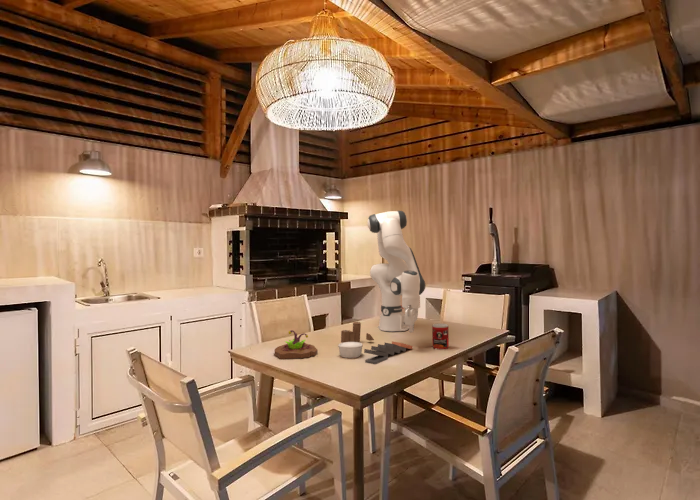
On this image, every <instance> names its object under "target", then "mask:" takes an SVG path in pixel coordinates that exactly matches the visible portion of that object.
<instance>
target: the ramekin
mask: <svg viewBox="0 0 700 500" xmlns="http://www.w3.org/2000/svg"><path fill="white" fill-rule="evenodd" d="M337 348H338V350H339V351H338V352H339V356H340V357H341V358H346V359H355V358H360V356H361V355H362V349H363V343H362V342H344V343H341V342H340V343H339V344H337Z"/></svg>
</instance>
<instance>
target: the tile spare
mask: <svg viewBox="0 0 700 500" xmlns="http://www.w3.org/2000/svg"><path fill="white" fill-rule="evenodd" d="M391 344H395V345H398V346H401V347H404V348H406V350H407V349H408V350H413V347H414V346H413V345H410V344H406V343H402V342H398V341H391Z"/></svg>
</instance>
